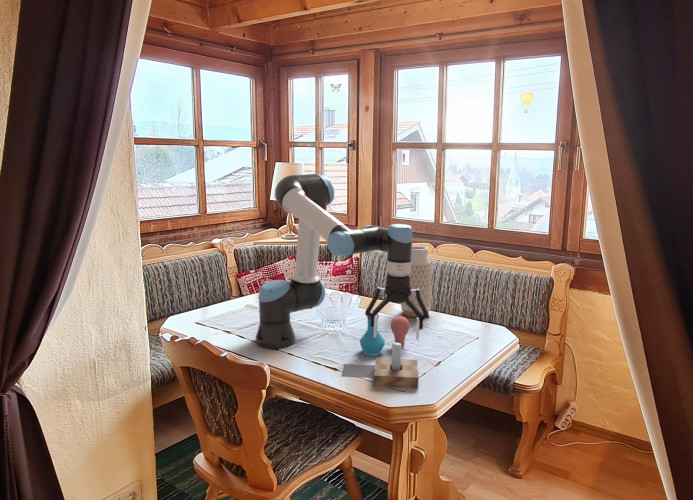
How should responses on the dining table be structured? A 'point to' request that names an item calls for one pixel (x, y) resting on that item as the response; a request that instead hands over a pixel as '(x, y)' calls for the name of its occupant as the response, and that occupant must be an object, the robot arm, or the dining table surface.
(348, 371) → the mat
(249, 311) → the dining table surface
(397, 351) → the peg
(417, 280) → the vase
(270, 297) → the robot arm
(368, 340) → the perfume bottle
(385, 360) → the hole block
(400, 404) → the dining table surface
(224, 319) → the dining table surface
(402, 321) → the light bulb
